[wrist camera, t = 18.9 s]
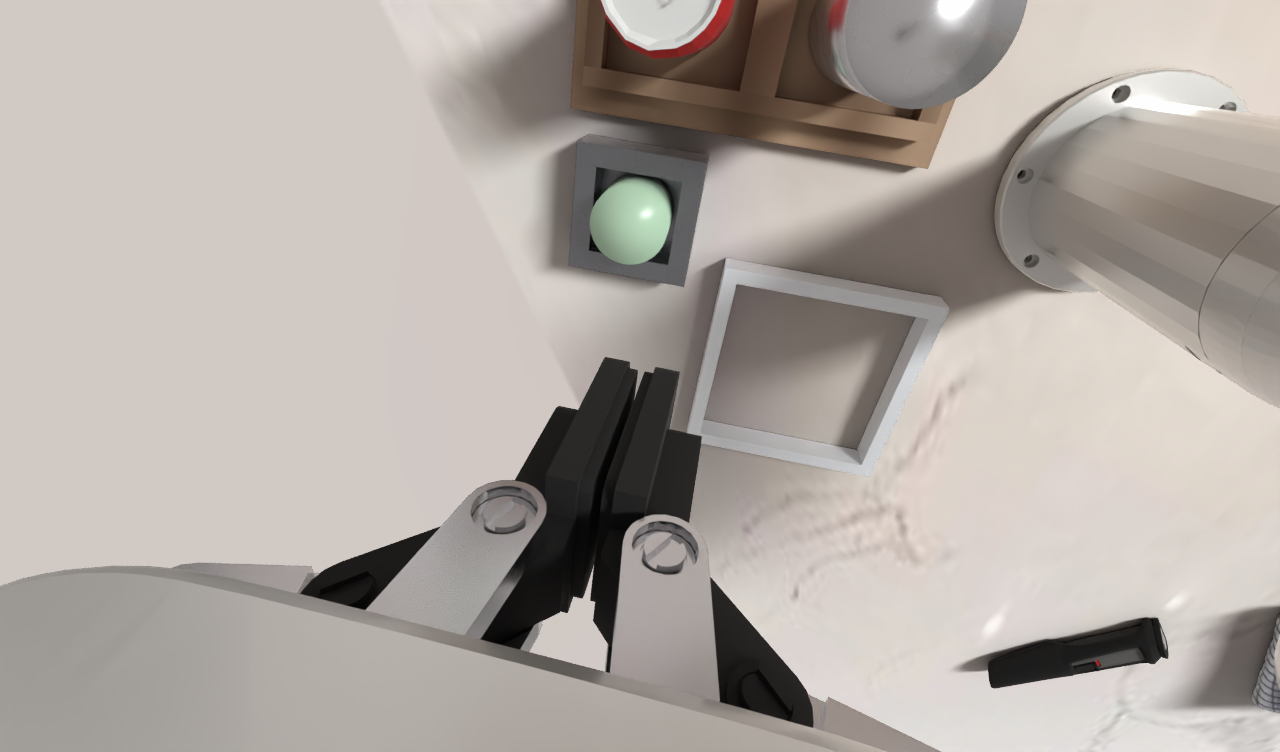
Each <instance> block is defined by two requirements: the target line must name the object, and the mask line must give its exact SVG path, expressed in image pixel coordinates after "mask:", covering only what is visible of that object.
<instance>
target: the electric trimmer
mask: <svg viewBox="0 0 1280 752" xmlns="http://www.w3.org/2000/svg"><path fill="white" fill-rule="evenodd" d="M1161 657H1163V658H1167V659H1168V646H1167V640H1166V638H1165V635H1164V632H1163V630H1162V627H1161V625H1160V622H1159V620H1158V618H1157V619H1153V621H1152V620H1151V619H1149V618H1143V619H1142V624H1141V625H1139V626H1135V627H1131V628H1127V629H1122V630H1118V631H1114V632H1109V633H1105V634H1101V635H1096V636H1092V637H1088V638H1083V639H1079V640H1075V641H1070V642H1066V643H1061V642H1056V641H1048V642H1045V643H1041V644H1038V645H1035V646H1032V647H1029V648H1026V649H1023V650H1020V651H1017V652H1014V653H1011V654H1008V655H1005V656H1002V657H999V658H996V659H993V660H991V661H990V662H989V663H988V673H989V681H990V685H991V687H992V688H1000V687H1006V686H1012V685H1018V684H1024V683H1029V682H1035V681H1041V680H1047V679H1053V678H1059V677H1066V676H1073V675H1076V674H1082V673H1088V672H1093V671H1100V670H1105V669H1110V668H1116V667H1122V666H1127V665H1133V664H1139V663H1150V664H1155V663H1156V662H1157V661H1158V660H1159V659H1160V658H1161Z"/></svg>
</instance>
